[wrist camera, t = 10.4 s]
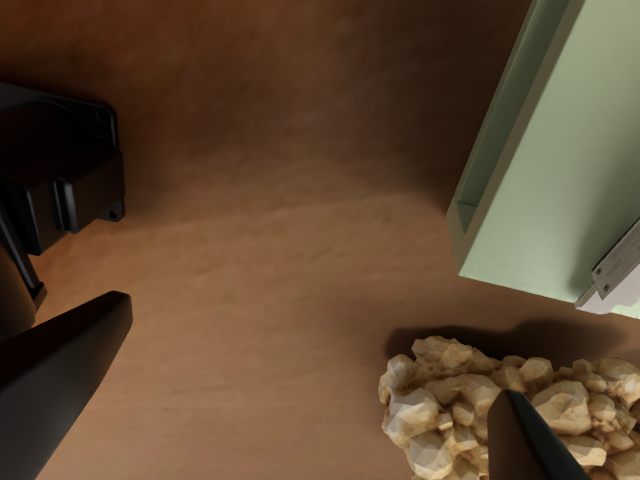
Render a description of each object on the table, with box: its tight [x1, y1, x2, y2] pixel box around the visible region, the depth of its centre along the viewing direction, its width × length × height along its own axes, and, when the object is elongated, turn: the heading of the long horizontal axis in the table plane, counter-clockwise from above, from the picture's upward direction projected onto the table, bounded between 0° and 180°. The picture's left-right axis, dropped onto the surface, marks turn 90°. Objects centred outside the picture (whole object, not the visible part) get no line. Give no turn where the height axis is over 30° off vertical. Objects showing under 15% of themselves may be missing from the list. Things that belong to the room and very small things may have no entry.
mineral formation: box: [378, 336, 640, 480], centre depth 23 cm, size 8×13×15 cm
